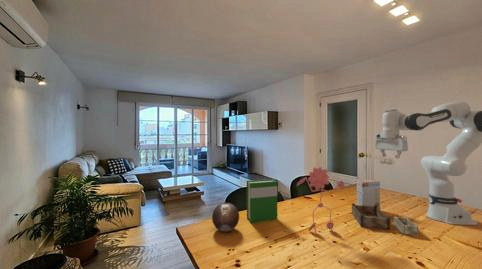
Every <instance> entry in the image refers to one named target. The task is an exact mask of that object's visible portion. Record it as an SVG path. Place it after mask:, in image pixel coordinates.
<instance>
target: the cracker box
mask: <svg viewBox="0 0 482 269" xmlns="http://www.w3.org/2000/svg"><path fill="white" fill-rule="evenodd" d="M356 205H363V206H374V205H377V206H378V208H379V209H380V210H381V181H379V180H376V179H362V180H360V179H359V180H356Z"/></svg>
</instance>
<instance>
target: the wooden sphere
mask: <svg viewBox="0 0 482 269" xmlns="http://www.w3.org/2000/svg"><path fill="white" fill-rule="evenodd" d="M211 216H212V217H211V222H212V223H213V226H214V227H215V228H216V229H217V230H219V231H220V232H230V231H232V230H234V229H235V228H236V227H237V225H238V224H239V222H240V213H239V210H238V208H237V207H236V206H235V205H234V204H233V203H231V202H222V203H220V204H218V205H217V206H216V207H215V208H214V209H213V211H212V215H211Z"/></svg>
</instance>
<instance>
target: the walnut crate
mask: <svg viewBox="0 0 482 269" xmlns="http://www.w3.org/2000/svg"><path fill="white" fill-rule="evenodd" d="M351 214H352V216H353V217H354V219H355V221H356V222H357V223H358V225H359V226H360V227H361V228H368V229H377V230H378V229H379V230H386V229H387V231H391V216H388V215H386V213H385V212H384V211H382V210H381V208H380V209H379V208H378V206H377V205H374V206H363V205H357V204H355V203H353V202H351Z"/></svg>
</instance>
